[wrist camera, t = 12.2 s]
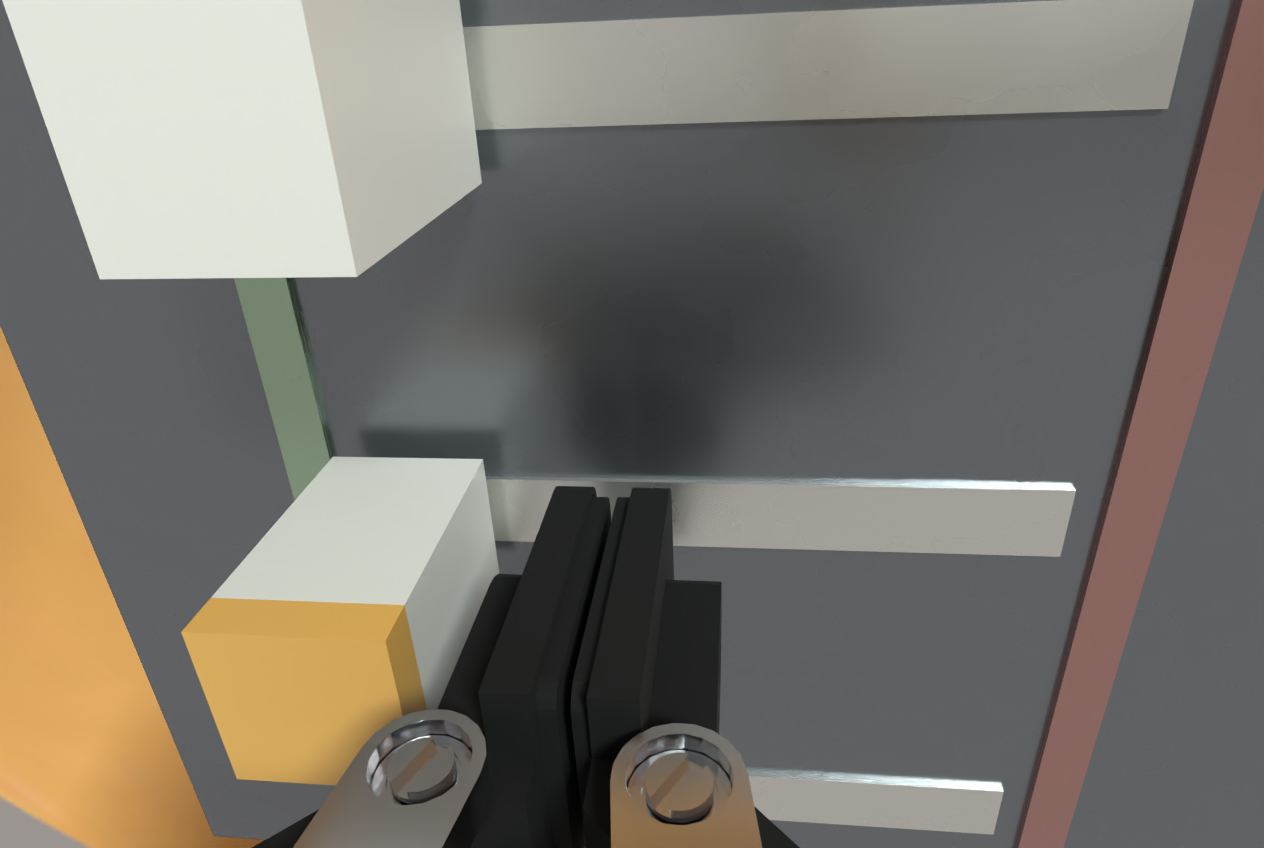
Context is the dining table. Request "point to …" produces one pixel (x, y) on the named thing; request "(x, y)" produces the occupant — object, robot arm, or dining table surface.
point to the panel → (771, 390)
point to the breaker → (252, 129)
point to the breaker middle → (345, 614)
